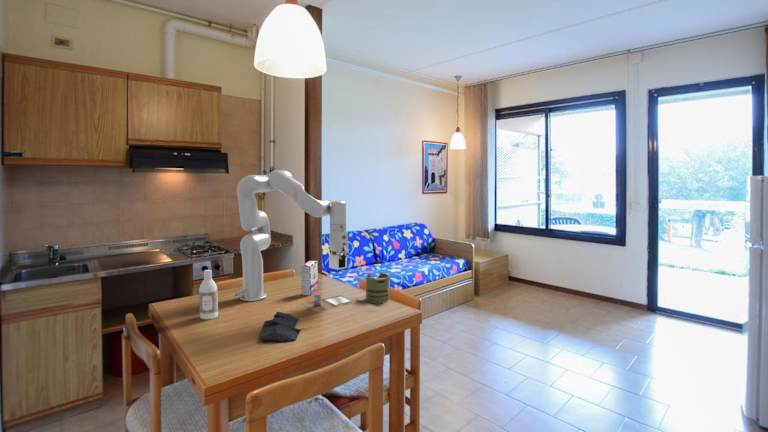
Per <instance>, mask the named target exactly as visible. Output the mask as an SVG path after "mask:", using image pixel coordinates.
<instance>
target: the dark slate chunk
mask: <svg viewBox="0 0 768 432" xmlns="http://www.w3.org/2000/svg"><path fill="white" fill-rule="evenodd" d="M299 321H300V319H299V318H297V317H296V318H295V317H294V316H293V315H292V314H291V313H285V312H281V311H276V313H275V314H274V315H273V318H272V319H269V320H265V321H264V322H263V327H262V328H261V333H260V335H259V337H260V339H261V340H262V341H276V342H296V341H297V339H298V336H299V334H300V333H301V328H299V329H298V328H297V325H298V323H299Z"/></svg>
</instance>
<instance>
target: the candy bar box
mask: <svg viewBox="0 0 768 432" xmlns="http://www.w3.org/2000/svg"><path fill="white" fill-rule="evenodd" d="M318 265H319V263H318V260H308V261H307V262H305V263H303V264H302V265H301V266H300V267H301V270H300V271H301V296H312V295H313V294H316V292H319V272H318V271H319V270H318V269H319V268H318Z"/></svg>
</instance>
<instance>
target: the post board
mask: <svg viewBox="0 0 768 432" xmlns="http://www.w3.org/2000/svg"><path fill="white" fill-rule="evenodd" d="M313 294H314V295H313V300H312V301H308V302H307V301H306V302H303V303H300V305H301V306H303V307H305V308H306V309H309V310H310V311H312V312H314V313H318V312H322V311H327V310H331V309H334V308H339V307H344V306H346V305H347V306H348V305H351V304H356V303H357V301H355V300H354V299H350V298H348V297H345V296H344V295H341V294H339V295H335V296H331V297H326V298H322V294H321V293H313Z"/></svg>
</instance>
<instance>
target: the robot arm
mask: <svg viewBox="0 0 768 432" xmlns="http://www.w3.org/2000/svg"><path fill="white" fill-rule="evenodd" d="M274 191H279V192H280V193H282V194H283V195H284V196H286V197H288V198H289V199H290V200H292V201H293V202H294V203H295V205H296V206H297V207H298V208H299V209H300V210H302V211H304V212H305V213H307V214H308V215H310V216H311V217H314V218H322V217H326V216H329V234H328V235H329V237H328V247H327V249H328V252H329V255H330V254H338V253H339V257H340V259H339V268H342V267H345V259H346V256H347V257H348V254H349V253H350V252H349V237H348V231H347V202H346V201H344V200H327V199H321V200H320V199H319V200H318V199H317V198H314V197H313V196H312V195H310V194H309V193H308V192H307V191H306V190H305V187H304V184H302V183H301V182H299V181H298V180H296V179H295V178H294V176H293V175H292V173H291V172H290V171H288V170H286V169H285V170H283V169H274V170H272V171H271V172H269V174H249V175H247V176H244V177H242V179H240V180H239V182H238V183H237V186H236V196H237V201H238V202H237V203H238V210H239V221H240V227H241V228H242V229H243V230H244V231H246V232H251V231H252V233H248V234H246V235H244V236H243V237H242V238H241V239H240V242H239V248H240V253H241V260H242V261H241V263H242V265H241V266H242V288H241V289H240V290H239V291H235V292H232V296H233V298H234V297H239V299H240V300H241V301H244V302H245V301H246V302H255V301H256V302H257V301H262V300H265V299H266V298H267V297H268V295H267V292H264V260H263V256H262V252H261V251H265V250H266V249H268V248H269V247H270V245H271V243H272V236H271V226H270V219H269V216H268V215H267V213H266V212H265V211H263V210H260V209H258V208H259V207H258V201H257V197H256V196H255V194H257V193H267V192H268V193H269V192H274ZM341 254H343V255H341Z"/></svg>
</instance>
